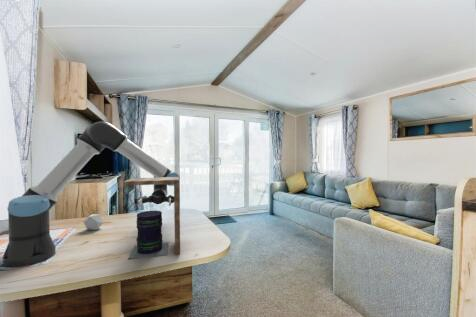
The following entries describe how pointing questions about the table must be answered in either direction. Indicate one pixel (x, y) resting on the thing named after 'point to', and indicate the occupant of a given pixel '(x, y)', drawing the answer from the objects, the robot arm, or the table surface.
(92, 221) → the die
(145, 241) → the rusty oil drum
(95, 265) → the table surface
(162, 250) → the pad
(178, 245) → the wooden gallows frame
